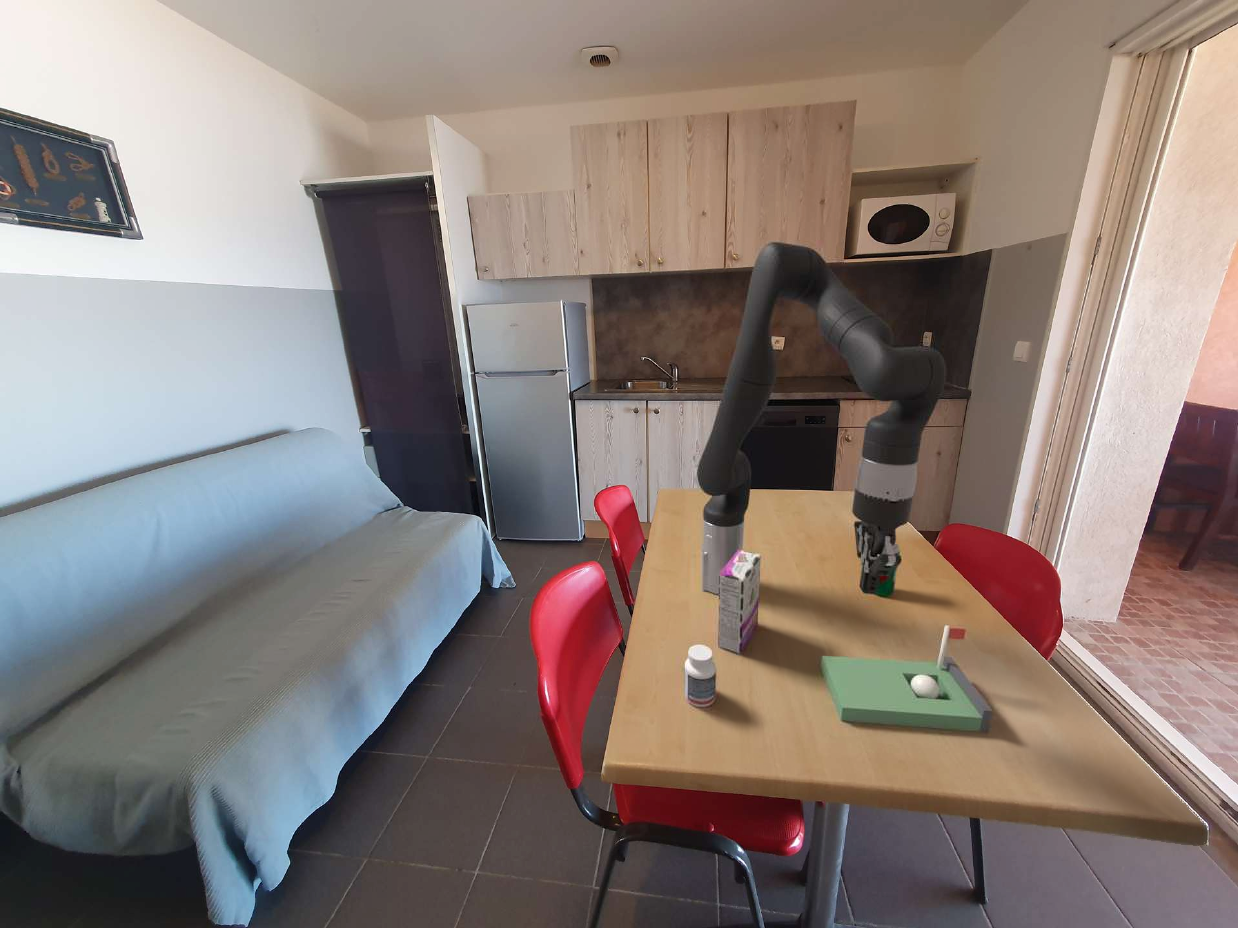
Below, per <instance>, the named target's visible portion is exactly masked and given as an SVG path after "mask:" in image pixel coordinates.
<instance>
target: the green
mask: <svg viewBox="0 0 1238 928" xmlns="http://www.w3.org/2000/svg"><path fill="white" fill-rule="evenodd" d="M966 631H967V628H966V627H952V626H950V625H947V624H946V625H944V629H943V635H942V640H941V643H940V644H941V645H940V650H939V655H938V659H937V662H933V661H932V662H928V661H915V660H914V661H913V660H898V659H884V658H883V659H882V658H881V659H880V658H867V657H866V658H864V657H863V658H862V657H847V656H833V655H832V656H829V655H822V656H821V663H820V669H821V672H822V674H823V677H824V681H825V682H826V685H827V687H828V690H829V693H830V695H831V698H832V700H833V703H834V706H835V708H836V712H837V714H838V716H839V719H840V722H841V721H842V722H855V723H865V724H877V725H891V726H893V725H894V726H905V727H906V726H907V727H919V728H929V729H940V730H941V729H942V730H943V729H944V730H957V731H969V732H979V733H989V728H990V726H991V720H992V716H993V713H994V711H993V709H992V708H991V707H990V705H989V704H988V703H987V701H986V700H985V699H984V698H983V696H982V695H981V693H979V691H978V690H977V688H976V687H975V686H974V685H973V683H972V682H971V680H970V679H968V677H967V675H966V674H965V673H964V672H963V670H962V669H961V668H960V667H959V665H958V664H957V663H956V662H955V660H954V659H953V658H952V656H946V651H947V650H946V649H947V644H948V640H950V639H951V640H952V639H953V640H965V636H966ZM917 675H927V676H929V677H931V678H933V679H934V680H935V681H936V683H937V684H938V686H939V695H938V697H937V698H936V699H926V698H918V697H916V695H915V694H914V692H913V690H912V689H911V680H912V679H913V678H914V677H915V676H917Z"/></svg>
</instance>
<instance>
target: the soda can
mask: <svg viewBox="0 0 1238 928" xmlns="http://www.w3.org/2000/svg"><path fill="white" fill-rule="evenodd" d="M893 551H894V555H900V554H901V549H900V547H899V545H898V543H897V542H895V545H894V546H893ZM900 556H901V555H900ZM898 568H899V565H898V566H897V568H896V569H895V570H894V571H893V572H892V573H891V574H890V575H889V576H880V580H879V586H878V592H877V593H876V594H875V595H876V596H880V597H890V596H892V595H893V594H894V592H895V586H896V580H897V574H898V573H897V572H898Z"/></svg>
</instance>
